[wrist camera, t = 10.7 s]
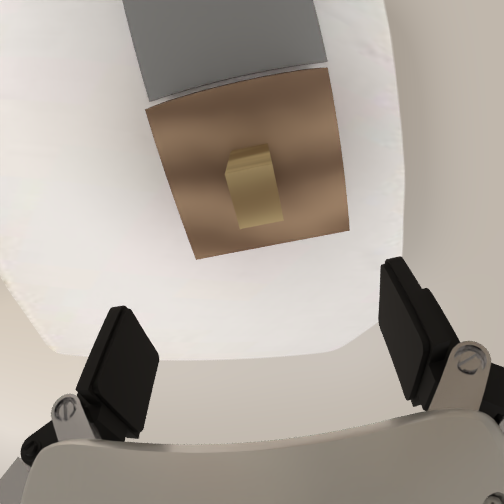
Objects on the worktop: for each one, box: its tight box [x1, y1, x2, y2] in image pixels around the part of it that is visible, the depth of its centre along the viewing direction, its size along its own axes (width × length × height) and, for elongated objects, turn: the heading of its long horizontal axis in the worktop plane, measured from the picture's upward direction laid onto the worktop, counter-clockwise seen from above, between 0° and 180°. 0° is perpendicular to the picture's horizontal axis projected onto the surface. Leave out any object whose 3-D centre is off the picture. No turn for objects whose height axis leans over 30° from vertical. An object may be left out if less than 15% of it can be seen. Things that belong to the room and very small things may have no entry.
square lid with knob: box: [145, 68, 350, 260], centre depth 26 cm, size 15×15×13 cm
